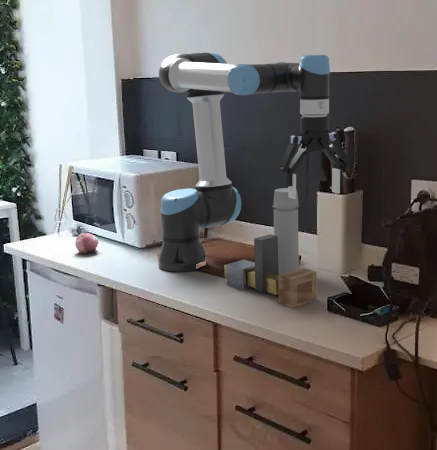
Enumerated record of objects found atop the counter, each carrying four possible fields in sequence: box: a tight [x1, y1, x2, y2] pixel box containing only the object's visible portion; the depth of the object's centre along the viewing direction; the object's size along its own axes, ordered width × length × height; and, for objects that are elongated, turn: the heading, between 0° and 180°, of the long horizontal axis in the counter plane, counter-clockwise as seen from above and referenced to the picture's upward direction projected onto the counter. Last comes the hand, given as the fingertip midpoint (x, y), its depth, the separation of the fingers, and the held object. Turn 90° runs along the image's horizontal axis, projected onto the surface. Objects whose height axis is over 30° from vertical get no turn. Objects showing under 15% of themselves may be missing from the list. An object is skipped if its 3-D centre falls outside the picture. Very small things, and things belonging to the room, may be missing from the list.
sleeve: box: [225, 259, 255, 291], centre depth 204 cm, size 7×7×6 cm
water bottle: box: [271, 187, 300, 275], centre depth 212 cm, size 9×8×25 cm
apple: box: [74, 232, 99, 255], centre depth 244 cm, size 8×8×7 cm
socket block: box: [278, 267, 318, 309], centre depth 188 cm, size 5×9×8 cm, turn 130°
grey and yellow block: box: [223, 233, 279, 296], centre depth 199 cm, size 21×6×14 cm, turn 40°
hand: (314, 195), depth 192 cm, fingers open, 13 cm apart
